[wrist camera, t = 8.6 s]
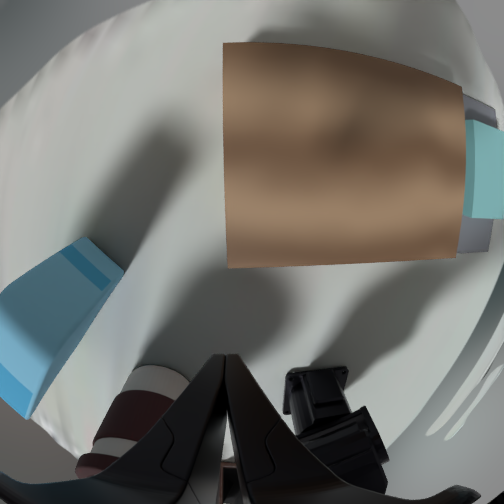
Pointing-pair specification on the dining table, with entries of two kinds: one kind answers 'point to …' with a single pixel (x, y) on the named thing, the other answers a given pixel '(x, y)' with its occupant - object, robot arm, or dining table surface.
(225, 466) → the letter holder
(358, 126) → the brown flat block
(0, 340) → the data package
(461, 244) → the mat
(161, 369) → the coffee cup
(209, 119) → the dining table surface
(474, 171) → the teal foam pad
